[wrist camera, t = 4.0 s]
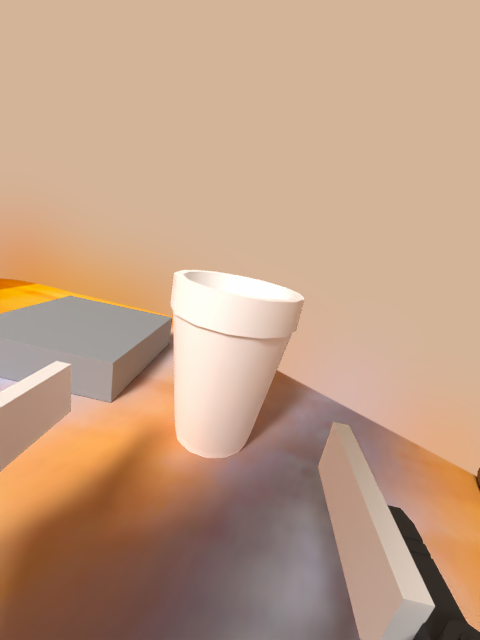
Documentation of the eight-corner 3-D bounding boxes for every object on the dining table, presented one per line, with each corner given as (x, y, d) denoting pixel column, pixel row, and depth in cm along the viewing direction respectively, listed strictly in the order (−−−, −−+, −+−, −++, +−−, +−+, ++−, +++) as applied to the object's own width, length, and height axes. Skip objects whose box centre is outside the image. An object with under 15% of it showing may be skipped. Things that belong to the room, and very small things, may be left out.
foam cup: (229, 391, 29) (253, 275, 26) (286, 451, 22) (331, 303, 19) (141, 409, 24) (155, 265, 20) (181, 496, 17) (214, 299, 13)
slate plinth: (168, 343, 38) (172, 317, 37) (110, 402, 24) (113, 362, 23) (70, 322, 39) (70, 295, 38) (-45, 367, 24) (-51, 326, 23)
